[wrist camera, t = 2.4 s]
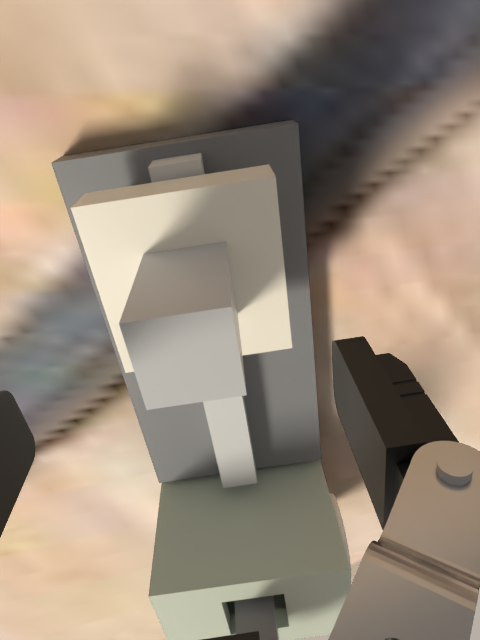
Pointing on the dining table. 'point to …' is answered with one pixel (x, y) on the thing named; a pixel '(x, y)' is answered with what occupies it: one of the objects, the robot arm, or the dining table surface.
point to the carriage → (189, 279)
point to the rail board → (259, 369)
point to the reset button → (257, 617)
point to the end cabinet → (250, 553)
